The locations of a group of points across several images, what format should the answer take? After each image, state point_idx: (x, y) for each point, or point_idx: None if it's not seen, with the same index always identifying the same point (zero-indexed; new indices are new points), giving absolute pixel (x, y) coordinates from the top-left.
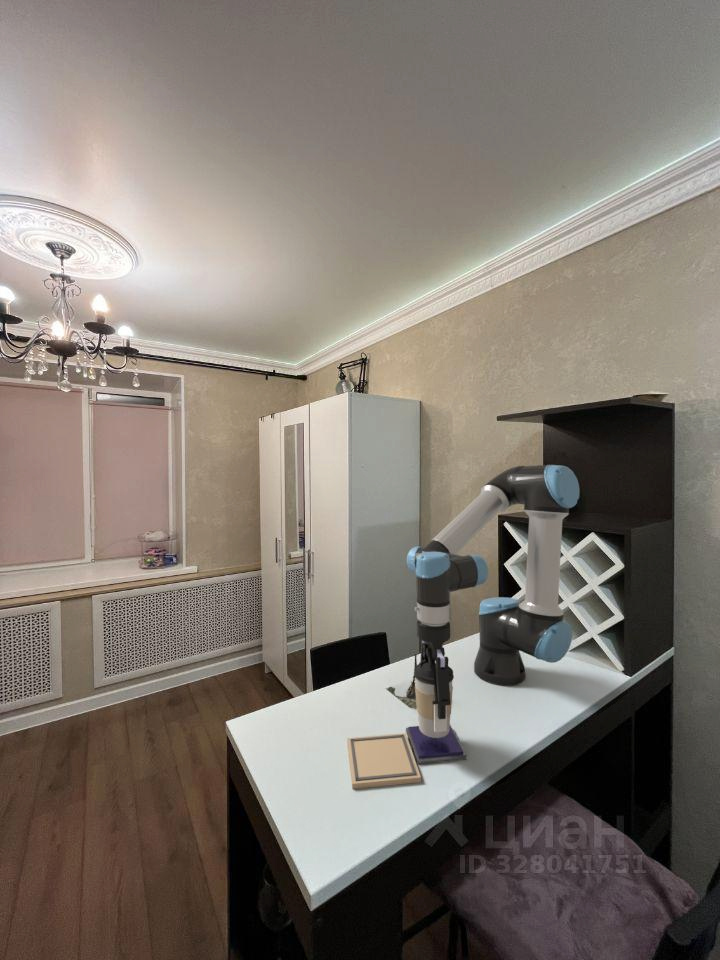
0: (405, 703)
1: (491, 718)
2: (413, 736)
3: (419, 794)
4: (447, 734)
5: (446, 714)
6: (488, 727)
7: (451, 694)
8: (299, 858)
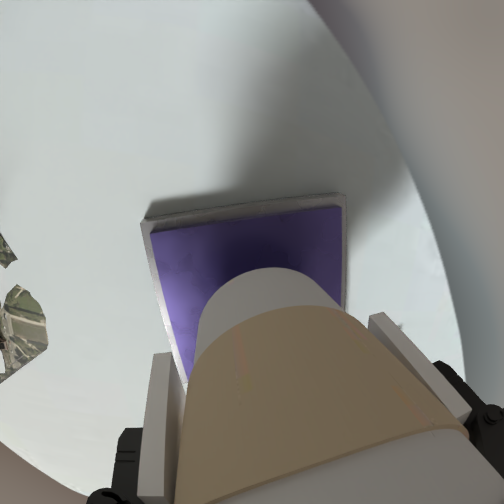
0: (31, 356)
1: (81, 28)
2: None
3: (419, 336)
4: (232, 252)
5: (427, 362)
6: (139, 47)
7: (435, 401)
8: None
